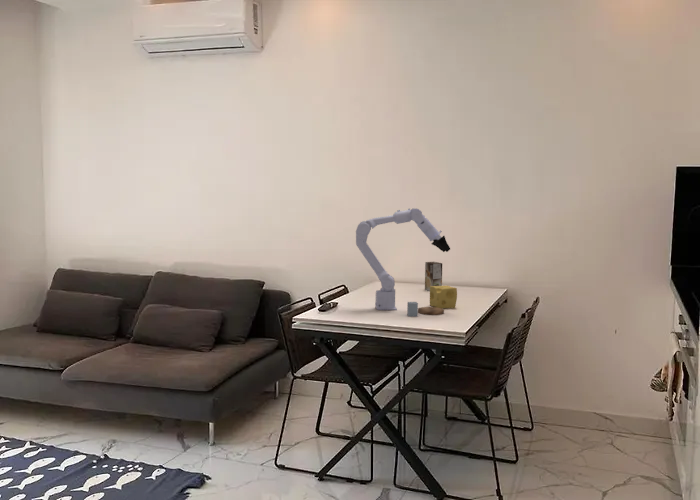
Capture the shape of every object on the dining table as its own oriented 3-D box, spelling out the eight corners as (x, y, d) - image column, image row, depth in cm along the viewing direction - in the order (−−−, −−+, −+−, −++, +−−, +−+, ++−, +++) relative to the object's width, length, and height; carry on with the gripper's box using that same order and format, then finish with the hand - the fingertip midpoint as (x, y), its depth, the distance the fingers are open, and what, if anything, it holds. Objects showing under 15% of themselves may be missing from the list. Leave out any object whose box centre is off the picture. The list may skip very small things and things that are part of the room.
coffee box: (442, 291, 377) (443, 263, 375) (432, 292, 374) (433, 263, 372) (433, 289, 385) (434, 261, 383) (424, 289, 382) (424, 261, 381)
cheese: (436, 309, 323) (437, 288, 322) (428, 305, 333) (429, 285, 332) (456, 308, 326) (457, 288, 325) (447, 304, 336) (448, 284, 335)
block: (408, 316, 304) (409, 303, 303) (407, 314, 308) (407, 301, 307) (417, 316, 304) (417, 303, 303) (415, 314, 308) (416, 301, 307)
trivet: (420, 314, 307) (420, 311, 307) (415, 310, 319) (415, 306, 319) (446, 314, 308) (446, 311, 308) (440, 310, 320) (440, 306, 320)
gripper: (437, 222, 310) (456, 244, 310) (431, 224, 325) (450, 245, 325) (426, 232, 310) (445, 254, 310) (420, 233, 324) (439, 254, 325)
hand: (447, 250), depth 318 cm, fingers open, 7 cm apart
